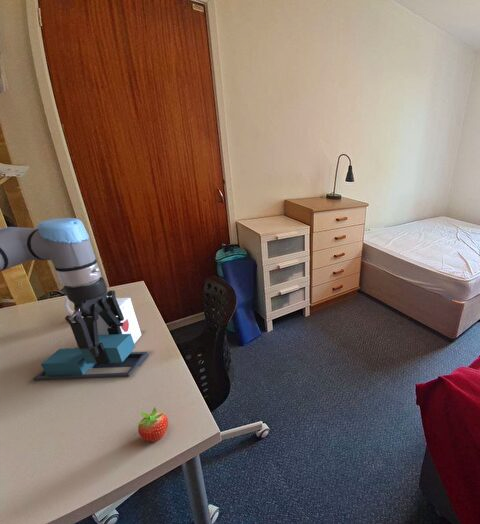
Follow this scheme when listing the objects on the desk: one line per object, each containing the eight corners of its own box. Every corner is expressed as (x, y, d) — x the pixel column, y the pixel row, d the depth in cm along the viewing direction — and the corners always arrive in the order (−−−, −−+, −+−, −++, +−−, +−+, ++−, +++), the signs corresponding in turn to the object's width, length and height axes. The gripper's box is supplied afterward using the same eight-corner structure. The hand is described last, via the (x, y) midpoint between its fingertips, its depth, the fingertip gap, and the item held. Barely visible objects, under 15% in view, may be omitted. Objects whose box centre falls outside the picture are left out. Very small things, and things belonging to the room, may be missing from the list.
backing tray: (36, 384, 75) (32, 378, 74) (64, 360, 83) (62, 354, 82) (130, 380, 77) (128, 374, 76) (149, 356, 85) (147, 351, 85)
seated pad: (47, 378, 76) (40, 363, 74) (66, 362, 82) (59, 348, 80) (83, 376, 77) (77, 362, 75) (99, 360, 82) (94, 347, 80)
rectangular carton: (128, 353, 86) (113, 312, 80) (95, 356, 85) (78, 314, 79) (143, 335, 94) (131, 296, 89) (113, 337, 93) (99, 298, 87)
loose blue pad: (86, 363, 75) (80, 349, 73) (102, 348, 81) (96, 334, 79) (122, 362, 76) (116, 347, 74) (135, 347, 82) (130, 333, 80)
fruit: (175, 426, 65) (168, 402, 62) (166, 449, 60) (157, 423, 57) (150, 429, 64) (141, 404, 61) (138, 452, 59) (127, 426, 56)
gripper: (68, 300, 61) (102, 380, 70) (124, 265, 78) (145, 333, 87) (30, 301, 60) (69, 381, 69) (95, 266, 78) (120, 334, 87)
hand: (112, 354), depth 78 cm, fingers closed on loose blue pad, 6 cm apart
